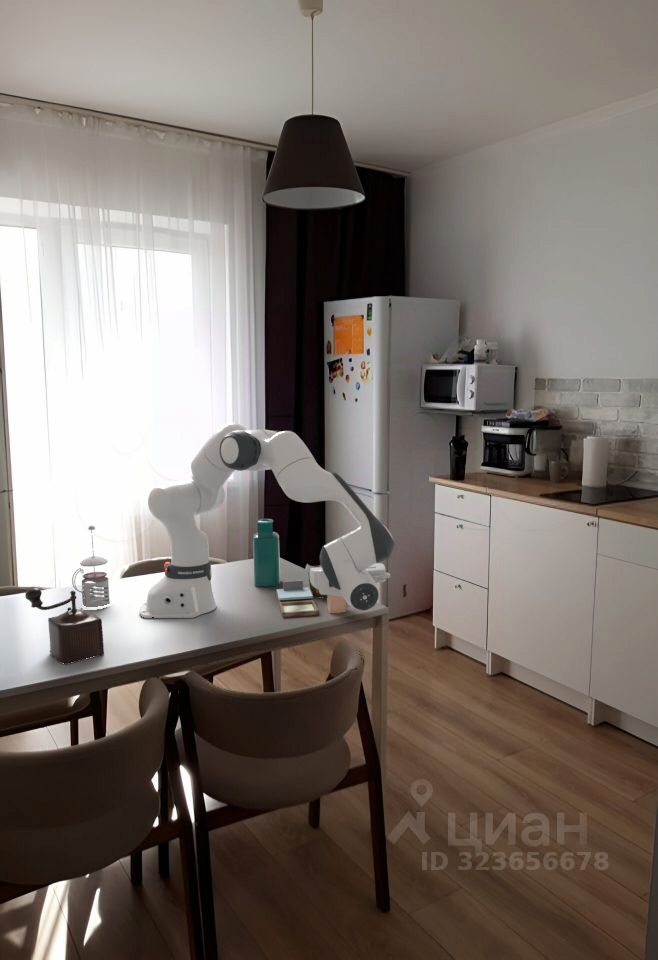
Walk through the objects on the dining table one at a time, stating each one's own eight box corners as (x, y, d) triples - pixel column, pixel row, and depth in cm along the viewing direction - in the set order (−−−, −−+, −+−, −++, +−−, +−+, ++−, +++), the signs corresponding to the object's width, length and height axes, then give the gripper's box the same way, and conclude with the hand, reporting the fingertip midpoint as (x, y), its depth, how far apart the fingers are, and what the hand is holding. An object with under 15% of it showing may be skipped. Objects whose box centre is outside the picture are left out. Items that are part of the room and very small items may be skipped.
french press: (118, 605, 225) (113, 525, 221) (81, 614, 217) (75, 531, 214) (105, 598, 232) (100, 521, 229) (69, 606, 225) (63, 526, 222)
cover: (279, 600, 221) (278, 589, 221) (276, 591, 231) (276, 580, 230) (312, 598, 223) (312, 587, 222) (308, 589, 232) (308, 578, 232)
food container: (306, 599, 227) (305, 568, 226) (305, 594, 233) (305, 563, 232) (345, 598, 228) (345, 567, 226) (344, 593, 234) (344, 562, 232)
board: (282, 617, 210) (282, 612, 210) (276, 596, 231) (276, 592, 231) (318, 615, 212) (318, 610, 212) (309, 594, 233) (309, 590, 232)
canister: (329, 613, 213) (328, 576, 212) (327, 608, 218) (326, 572, 216) (346, 612, 214) (345, 575, 212) (343, 607, 219) (342, 571, 217)
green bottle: (255, 580, 250) (253, 517, 247) (280, 579, 251) (278, 516, 248) (254, 588, 241) (251, 522, 238) (279, 587, 241) (278, 521, 238)
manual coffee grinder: (88, 643, 193) (84, 576, 190) (105, 654, 184) (100, 585, 182) (27, 657, 183) (22, 587, 181) (42, 670, 175) (36, 597, 172)
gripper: (391, 565, 189) (380, 553, 203) (313, 570, 186) (306, 558, 200) (392, 589, 190) (380, 576, 204) (314, 595, 187) (307, 581, 201)
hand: (343, 567), depth 202 cm, fingers open, 8 cm apart
